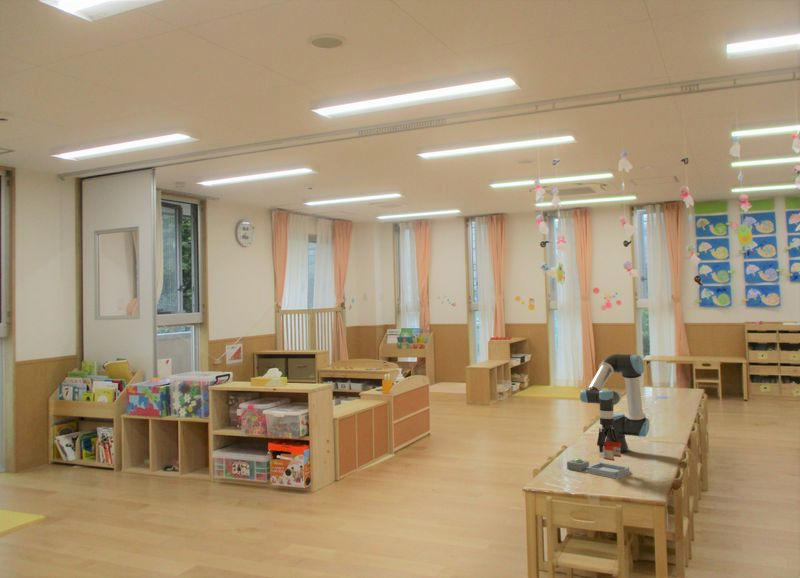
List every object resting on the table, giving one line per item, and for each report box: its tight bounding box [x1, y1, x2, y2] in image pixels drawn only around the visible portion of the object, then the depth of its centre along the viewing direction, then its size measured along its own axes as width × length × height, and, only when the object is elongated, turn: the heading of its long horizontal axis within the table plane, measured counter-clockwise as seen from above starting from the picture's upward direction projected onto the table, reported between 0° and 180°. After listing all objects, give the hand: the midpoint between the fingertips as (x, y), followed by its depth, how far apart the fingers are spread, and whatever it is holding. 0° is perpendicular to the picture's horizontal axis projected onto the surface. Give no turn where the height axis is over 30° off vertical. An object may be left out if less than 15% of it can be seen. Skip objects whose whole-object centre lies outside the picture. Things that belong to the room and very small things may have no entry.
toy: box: [602, 442, 622, 462], centre depth 358 cm, size 12×10×8 cm
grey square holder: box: [566, 459, 590, 472], centre depth 369 cm, size 9×9×4 cm
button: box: [573, 457, 582, 463], centre depth 369 cm, size 4×4×4 cm
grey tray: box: [584, 461, 632, 480], centre depth 359 cm, size 16×20×3 cm
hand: (607, 455), depth 359 cm, fingers closed on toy, 12 cm apart
